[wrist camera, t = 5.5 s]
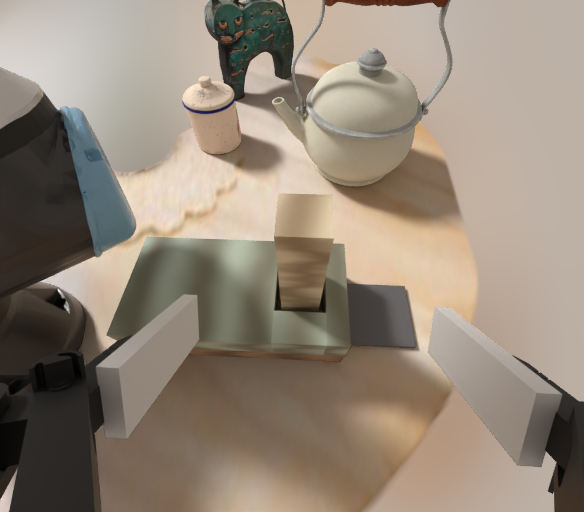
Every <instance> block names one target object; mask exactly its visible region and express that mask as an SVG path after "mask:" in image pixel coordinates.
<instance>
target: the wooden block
mask: <svg viewBox="0 0 584 512" xmlns="http://www.w3.org/2000/svg"><path fill="white" fill-rule="evenodd" d="M274 239H275V249H276V259H277V269H278V279H279V288H280V298H281V308H282V311H295V312H318V311H319V306H320V301H321V296H322V292H323V287H324V282H325V278H326V273H327V268H328V264H329V259H330V254H331V250H332V245H333V240H334V230H333V206H332V195H315V194H283V193H279V195H278V204H277V214H276V224H275V234H274Z"/></svg>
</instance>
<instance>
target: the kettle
mask: <svg viewBox="0 0 584 512" xmlns="http://www.w3.org/2000/svg"><path fill="white" fill-rule="evenodd" d="M336 2H345V3H350V4H356V5H362V6H370V5H377V6H380V5H383V6H386V5H389V6H393V5H398V6H411V5H418V4H424V3H434V4H435V5H436V6H437V7H441V11H440V14H439V26H440V30H441V33H442V37H443V40H444V43H445V47H446V51H447V66H446V70H445V72H444V74H443V76H442V78H441V79H440V81H439V82H438V84H437V85H436V87H435V88H434V90H433V91H432V92H431V93H430V94H429V96H428V97H427V98H426V99H425V100H424V102H423V103H422V105H421V103H420V101H419V99H418V97H417V92H416V89H415V87H414V85H413V83H412V82H411V80H410V79H409V78H408V77H407V76H406V75H405V74H404V73H402V72H401V71H399V70H398V69H396V68H394V67H392V66H389V65H387V62H386V60H385V57H384V55H383V54H382V53H381V52H380V51H378V49H376V48H372V49H371V50H368V51H366V52H365V53H363V54H362V55H361V57H359V58H358V60H357V61H355V62H349V63H345V64H342V65H339V66H337V67H335V68H333V69H331V70H329V71H328V72H327V73H325V74H324V75H323V76H322V77H321V79H320V80H319V81H318V83H317V84H316V86H315V87H313V88H312V90H311V91H310V92H309V94H308V96H307V99H306V107H303V100H302V97H301V94H300V92H299V89H298V86H297V83H296V78H295V65H296V62H297V60H298V58H299V56H300V54H301V53H302V51H303V50H304V48H305V47H306V45H307V44H308V43H309V41H310V40H311V39H312V37H313V36H314V35H315V33H316V32H317V31H318V29H319V27H320V26H321V24H322V21H323V17H324V11H325V5H327V6H332V5H333V4H335V3H336ZM449 3H450V0H323V1H322V9H321V15H320V18H319V20H318V22H317V24H316V25H315V27H314V28H313V29H312V31H311V32H310V33H309V35H308V36H307V38H306V39H305V40H304V42H303V43H302V45H301V46H300V48H299V50H298V51H297V53H296V55H295V58H294V61H293V67H292V79H293V84H294V88H295V91H296V94H297V97H298V100H299V102H300V104H301V107H296V112H297V113H299V112H300V113H301V116H300V115H298V114H297V113H295V112H294V111H293V110H292V109H291V108H290V107H289V105H288V104H287V103H286V101H285V100H284V99H283V98H282V97H278V98H275V99H273V100H272V103H273V105H274V107H275V108H276V110H277V111H278V113H279V115H280V116H281V118H282V119H283V121H284V123H285V124H286V126H287V127H288V129H289V130H290V131H291V132H292V134H293V135H294V136H295V137H297V138H298V139H299V140H300V141H301V142H302V143H303V145H304V147H305V149H306V151H307V153H308V155H309V157H310V158H311V159H312V161H313V162H314V165H315V167H316V169H317V170H318V172H319V173H320V174H321V175H322V176H324V177H325V178H327V179H328V180H330V181H332V182H334V183H337V184H340V185H345V186H365V185H369V184H372V183H375V182H377V181H379V180H380V179H382V178H383V177H384V176H385V175H386V174H387V173H389V172H391V171H392V170H394V169H395V168H396V167H397V166H399V165H400V164H401V163H402V161H403V160H404V159H405V158H406V156H407V154H408V153H409V150H410V148H411V146H412V142H413V138H414V132H415V126H416V124H417V123H418V122H419V121H420V120H421V118H422V116H423V114H424V115H426V114H428V109H426V107H427V106H428V105H429V104H430V103H431V101H432V100H433V99H434V98H435V96H436V95H437V94H438V93H439V92H440V90H441V89H442V88H443V86H444V84H445V83H446V81H447V79H448V78H449V75H450V73H451V70H452V54H451V50H450V46H449V42H448V39H447V36H446V32H445V29H444V19H445V15H446V12H447V8H448V6H449ZM304 112H306V114H305V116H303V113H304Z"/></svg>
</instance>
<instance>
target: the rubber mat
mask: <svg viewBox="0 0 584 512" xmlns="http://www.w3.org/2000/svg"><path fill="white" fill-rule="evenodd" d="M347 294H348V309H349V324H350V340H351V345H363V346H384V347H405V348H415V347H416V344H415V339H414V333H413V328H412V323H411V318H410V312H409V307H408V302H407V297H406V291H405V286H387V285H363V284H347Z"/></svg>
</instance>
